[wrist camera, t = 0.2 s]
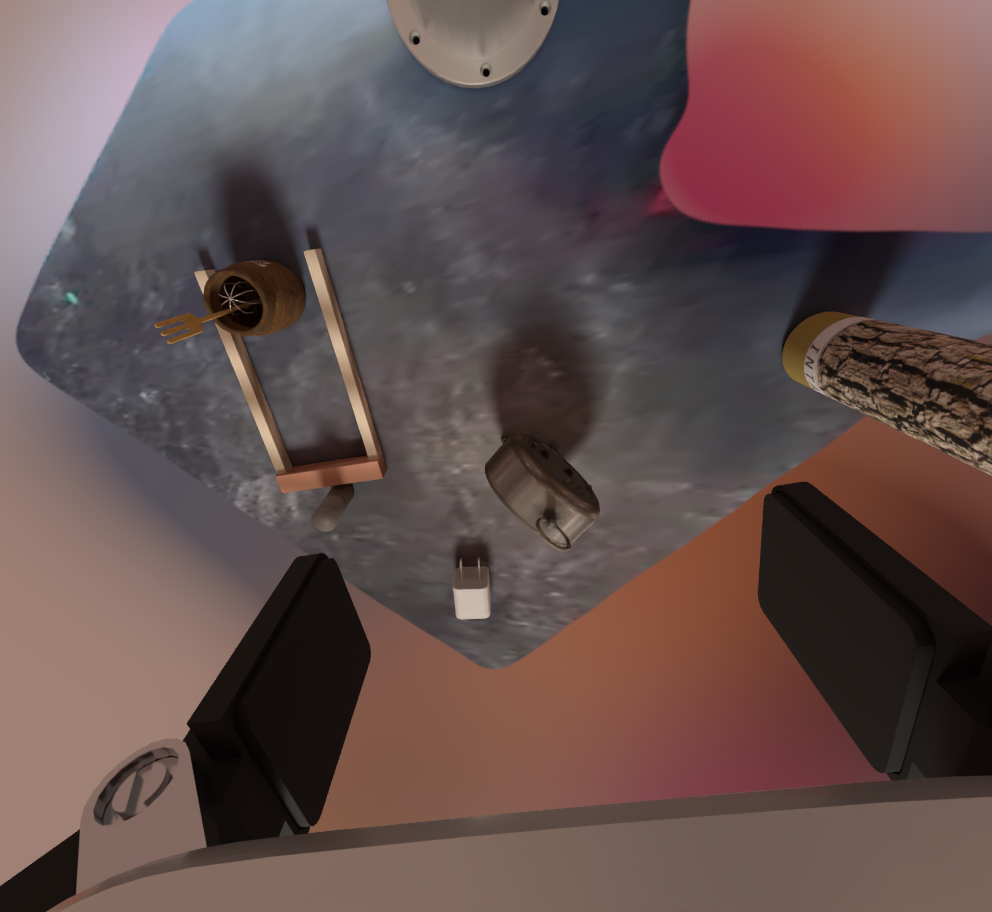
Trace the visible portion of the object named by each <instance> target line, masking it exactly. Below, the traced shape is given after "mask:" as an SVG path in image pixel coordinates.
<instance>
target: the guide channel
mask: <svg viewBox="0 0 992 912" xmlns="http://www.w3.org/2000/svg"><path fill="white" fill-rule="evenodd" d="M304 255H305V258H306V261H307V264H308V267H309V270H310V274H311V277H312V280H313V283H314V286H315V290H316V293H317V296H318V299H319V302H320V305H321V309H322V312H323V315H324V318H325V321H326V324H327V328H328V331H329V334H330V337H331V340H332V344H333V347H334V350H335V353H336V356H337V359H338V363H339V366H340V369H341V372H342V375H343V379H344V382H345V385H346V388H347V391H348V394H349V398H350V401H351V404H352V407H353V410H354V414H355V417H356V420H357V423H358V426H359V429H360V433H361V436H362V439H363V442H364V445H365V449H366V452H367V455H366V456H359V457H353V458H346V459H340V460H333V461H326V462H320V463H313V464H307V465H300V466H293V467H292V465H291V462H290V459H289V457H288V454H287V452H286V449H285V447H284V444H283V442H282V439H281V437H280V434H279V432H278V429H277V426H276V424H275V421H274V419H273V416H272V414H271V411H270V409H269V406H268V404H267V401H266V398H265V396H264V393H263V391H262V388H261V386H260V383H259V381H258V378H257V376H256V373H255V371H254V368H253V365H252V363H251V360H250V358H249V355H248V353H247V350H246V348H245V345H244V343H243V340H242V338H241V336H238V335H234V334H231V333H229V332H227V331H225V330H223V329H222V328H220V327H219V326H218V325H217V324H216V323H215V324H216V327H217V329H218V331H219V334H220V336H221V339H222V341H223V344H224V346H225V348H226V351H227V353H228V356H229V358H230V361H231V363H232V365H233V368H234V370H235V373H236V375H237V378H238V380H239V382H240V385H241V387H242V390H243V392H244V395H245V397H246V399H247V402H248V404H249V407H250V409H251V412H252V414H253V416H254V419H255V421H256V424H257V426H258V429H259V431H260V433H261V436H262V438H263V441H264V443H265V446H266V448H267V450H268V453H269V455H270V458H271V460H272V463H273V465H274V467H275V470H276V472H277V475H276V476H275V477H276V480H277V482H278V484H279V487H280V489H281V492H282V493H287V492H294V491H300V490H307V489H314V488H321V487H328V486H333V487H332V488H331V490H330V491H329V493H328V494H327V496H326V497H325V499H324V500H323V501H322V503H321V504H320V506H319V507H318V509H317V510H316V511H315V513H314V514H313V516H312V523H313V525H314V526H315V527H316V528H317V529H319V530H321V531H331V530H333V529H334V528H335V526H336V525H337V523H338V521H339V520H340V518H341V516H342V514H343V513H344V511H345V509H346V508H347V506H348V504H349V503H350V501H351V499H352V497H353V496H354V490H353V488H352V486H351V485H350V484H348V483H355V482H362V481H368V480H375V479H382V478H383V477H384V475H385V473H386V471H387V468H386V464H385V461H384V458H383V454H382V451H381V448H380V444H379V441H378V438H377V434H376V431H375V428H374V424H373V421H372V418H371V414H370V411H369V408H368V404H367V401H366V398H365V394H364V391H363V388H362V384H361V381H360V378H359V374H358V371H357V368H356V364H355V361H354V358H353V354H352V351H351V348H350V344H349V341H348V338H347V334H346V331H345V327H344V324H343V321H342V317H341V314H340V311H339V307H338V304H337V301H336V297H335V294H334V291H333V287H332V284H331V281H330V277H329V274H328V271H327V267H326V264H325V261H324V257H323V254H322V251H321V249H313V250H308V251H304ZM194 273H195V276H196V278H197V280H198V283H199V285H200V288H201V290H202V293H204V287H205V284H206V282H207V280H208V279H209V278H210V276H212V275H213V274H214V273H216V271H215V269H212V270H204V271H198V272H194Z"/></svg>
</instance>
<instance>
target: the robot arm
mask: <svg viewBox="0 0 992 912" xmlns="http://www.w3.org/2000/svg"><path fill="white" fill-rule="evenodd" d="M558 3H559V0H387V4H388V7H389V11H390V15H391V17H392V19H393V22H394V24H395V26H396V28H397V30H398V33H399V35H400V36H401V38H402V40H403V42H404V44H405V45H406V47H407V48H408V50H409V51H410V52H411V53H412V55H413V56H414V57H415V59H416V60H417V61H418V62H419V63H420V64H421V65H422V66H423V67H424V68H425V69H427V70H428V71H429V72H430V73H431V74H433V75H434V76H436V77H438V78H439V79H441V80H443V81H445V82H447V83H450V84H453V85H456V86H459V87H465V88H483V87H489V86H493V85H496V84H498V83H501V82H503V81H506V80H508V79H509V78H511V77H512V76H514V75H515V74H517V73H518V72H519V71H521V70H522V69H523V68H524V67H525V66H526V65H527V64H528V63H529V62H530V61H531V60H532V59H533V58H534V56H535V55H536V53H537V52H538V50H539V49H540V47H541V46H542V44H543V43H544V41H545V39H546V37H547V35H548V32H549V30H550V28H551V26H552V24H553V20H554V17H555V13H556V10H557V7H558ZM543 9H546V10H547V12H548V14H547V15H546V16H544V15H542V14H541V11H542V10H543ZM415 38H418V39H420V42H419V44H417V45H415V44H414V39H415ZM485 70H488V71H489V72H490V75H489V76H488V77H485V76H483V72H484V71H485ZM762 522H763V523H762V537H761V554H760V569H759V585H758V598H759V603H760V606H761V608H762V610H763V612H764V614H765V615H766V617H767V618H768V619H769V621H770V622H771V624H772V625H773V627H774V628H775V629H776V631H777V632H778V634H779V635H780V637H781V638H782V639H783V641H784V642H785V643H786V645H787V647H788V648H789V649H790V651H791V652H792V654H793V655H794V656H795V658H796V659H797V661H798V662H799V664H800V665H801V666H802V668H803V669H804V671H805V672H806V674H807V675H808V676H809V678H810V679H811V680H812V682H813V683H814V685H815V686H816V688H817V689H818V691H819V692H820V693H821V695H822V696H823V698H824V699H825V701H826V702H827V703H828V705H829V706H830V708H831V709H832V711H833V712H834V713H835V715H836V716H837V718H838V719H839V721H840V722H841V723H842V725H843V726H844V728H845V729H846V730H847V732H848V733H849V735H850V736H851V738H852V739H853V740H854V741H855V743H856V744H857V746H858V747H859V749H860V750H861V752H862V753H863V755H864V756H865V758H866V759H867V760H868V762H869V763H870V764H871V766H872V767H873V768H874V769H875V770H876V771H878V772H880V773H887V775H888V776H889V777H890V779H891V780H892V781H880V782H866V783H850V784H836V785H825V786H813V787H802V788H790V789H778V790H766V791H756V792H744V793H732V794H721V795H708V796H697V797H685V798H673V799H663V800H651V801H640V802H630V803H619V804H608V805H597V806H585V807H574V808H564V809H553V810H542V811H531V812H520V813H510V814H499V815H488V816H477V817H467V818H457V819H447V820H437V821H426V822H416V823H407V824H396V825H386V826H375V827H366V828H355V829H345V830H334V831H325V832H317V833H308V832H309V829H310V826H314V825H315V824H316V823H317V822H318V820H319V818H320V816H321V813H322V810H323V807H324V804H325V801H326V797H327V794H328V791H329V788H330V785H331V782H332V779H333V776H334V773H335V769H336V766H337V763H338V760H339V757H340V754H341V750H342V747H343V744H344V741H345V738H346V734H347V732H348V729H349V725H350V722H351V719H352V716H353V713H354V709H355V707H356V703H357V700H358V697H359V694H360V691H361V687H362V684H363V682H364V678H365V675H366V672H367V669H368V666H369V663H370V658H371V650H370V645H369V642H368V639H367V637H366V634H365V632H364V629H363V627H362V625H361V622H360V620H359V617H358V615H357V612H356V609H355V607H354V605H353V602H352V600H351V597H350V595H349V592H348V590H347V587H346V585H345V582H344V580H343V577H342V575H341V572H340V570H339V567H338V565H337V563H336V561H335V560H334V559H332V558H330V559H329V558H328V556H327V555H326V554H324V553H319V554H313V555H306V556H300V557H297V558H296V559H295V560H294V561H293V563H292V564H291V566H290V567H289V569H288V571H287V572H286V574H285V575H284V577H283V578H282V580H281V581H280V583H279V584H278V586H277V587H276V589H275V590H274V592H273V593H272V595H271V596H270V598H269V599H268V601H267V602H266V604H265V605H264V607H263V608H262V610H261V611H260V613H259V614H258V616H257V618H256V619H255V621H254V622H253V624H252V625H251V627H250V628H249V630H248V631H247V633H246V634H245V636H244V637H243V639H242V640H241V642H240V643H239V645H238V646H237V648H236V649H235V651H234V652H233V654H232V655H231V657H230V659H229V660H228V662H227V663H226V665H225V666H224V668H223V669H222V671H221V672H220V674H219V675H218V677H217V678H216V680H215V681H214V683H213V684H212V686H211V687H210V689H209V690H208V692H207V693H206V695H205V696H204V698H203V699H202V701H201V703H200V704H199V706H198V707H197V709H196V710H195V712H194V713H193V715H192V716H191V718H190V719H189V721H188V722H187V725H188V726H189V728H190V730H189V732H188V734H187V735H186V737H185V738H184V740H183V741H181V740H179V739H164V740H160V741H157V742H154V743H151V744H149V745H147V746H145V747H143V748H141V749H139V750H138V751H136V752H134V753H133V754H132V755H130V756H129V757H128V758H126V759H125V760H123V761H122V762H121V763H119V764H118V765H117V766H116V767H115V768H114V769H113V770H112V771H111V772H110V773H109V774H108V775H106V777H105V778H104V779H103V780H102V781H101V783H100V784H99V785H98V786H97V788H96V789H95V790H94V791H93V793H92V794H91V796H90V798H89V800H88V801H87V803H86V805H85V807H84V810H83V814H82V818H81V824H80V830H78V831H77V832H75V833H74V834H73V835H71V836H70V837H69V838H67V839H66V840H64V841H63V842H61V843H60V844H59V845H57V846H56V847H54V848H53V849H52V850H50V851H49V852H47V853H46V854H45V855H43V856H42V857H41V858H39V859H38V860H36V861H35V862H33V863H32V864H31V865H29V866H28V867H26V868H25V869H24V870H22V871H21V872H19V873H18V874H17V875H15V876H14V877H12V878H11V879H10V880H8V881H7V882H5V883H4V884H3V885H1V886H0V912H992V626H991V625H989V624H988V623H987V622H986V621H984V620H983V619H982V618H981V617H979V616H978V615H977V614H975V613H974V612H973V611H972V610H970V609H969V608H968V607H967V606H965V605H964V604H963V603H961V602H960V601H959V600H958V599H956V598H955V597H954V596H953V595H951V594H950V593H949V592H947V591H946V590H945V589H944V588H942V587H941V586H940V585H938V584H937V583H936V582H935V581H933V580H932V579H931V578H930V577H928V576H927V575H926V574H925V573H923V572H922V571H921V570H920V569H918V568H917V567H916V566H914V565H913V564H912V563H911V562H909V561H908V560H907V559H905V558H904V557H903V556H902V555H900V554H899V553H898V552H897V551H895V550H894V549H893V548H892V547H890V546H889V545H888V544H886V543H885V542H884V541H883V540H881V539H880V538H879V537H878V536H876V535H875V534H874V533H873V532H871V531H870V530H869V529H867V528H866V527H865V526H864V525H862V524H861V523H860V522H858V521H857V520H856V519H855V518H853V517H852V516H851V515H850V514H848V513H847V512H846V511H845V510H843V509H842V508H841V507H839V506H838V505H837V504H836V503H834V502H833V501H832V500H831V499H829V498H828V497H827V496H825V495H824V494H823V493H822V492H820V491H819V490H818V489H817V488H815V487H814V486H813V485H811V484H809V483H808V482H798V483H791V484H785V485H779V486H775V487H774V488H773V490H772V493H771V494H767V495H766V496H765V498H764V506H763V521H762Z"/></svg>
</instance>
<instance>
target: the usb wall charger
mask: <svg viewBox="0 0 992 912" xmlns="http://www.w3.org/2000/svg"><path fill="white" fill-rule="evenodd" d="M453 592H454V601H455V610H456V617H457V618H459V619H484V618H488V617H489V616H490V608H491V594H490V579H489V569H488V567H486V566H480V558H479V557H478V567H462V558H460V567H458V568H457V569H456V570H455V574H454V581H453Z"/></svg>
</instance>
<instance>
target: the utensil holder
mask: <svg viewBox="0 0 992 912" xmlns="http://www.w3.org/2000/svg"><path fill="white" fill-rule="evenodd" d="M203 297H204V304H205V307H206V309H207V312H208V314H209V316H206V317H203V318H197V317H195V316H194V315H192V314H190V313H186V314H183V315H180V316H177V317H174V318H171V319H168V320H165V321H162V322H159V323H156V324H155V325H154V326H155V327H156V328H160V327H163V326H166V325H169V324H172V323H175V322H178V321H183V322H184V324H182V325H180V326H177V327H174V328H171V329H168V330H165V331H162V332H161V335H162V336H166V335H169V334H172V333H175V332H178V331H180V330H183V329H186V328H187V329H189V330H190V332H187V333H185V334H182V335H179V336H177V337H174V338H171V339H168V340H167V342H168V343H169V344H172V343H174V342H177V341H180V340H183V339H185V338H188V337H191V336H193V335H196V334H199V333H201V332H202V331H203V328H202V323H203V322H206V321H209V320H213V321H214V322H215V323H216V324H217V325H218V326H219V327H220V328H222V329H223V330H225V331H227V332H229V333H231V334H234V335H238V336H254V335H256V336H261V335H268V334H272V333H275V332H277V331H280V330H282V329H285V328H287V327H289V326H291V325H293V324H294V323H295V322H296V321H297V320H298V319H299V318H300V317H301V315H302V313H303V311H304V308H305V293H304V289H303V286H302V284H301V282H300V281H299V279H298V278H297V276H296V275H295V274H294V273H293V272H292V271H291V270H290V269H289V268H287V267H286V266H284V265H282V264H280V263H277V262H274V261H269V260H255V261H244V262H238V263H235V264H232V265H230V266H228V267H227V268H224V269H221V270H219V271H217V272H216V273H214V274H213V275H212V276H210V278H209V279H208V280H207V282H206V284H205V287H204V293H203Z"/></svg>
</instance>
